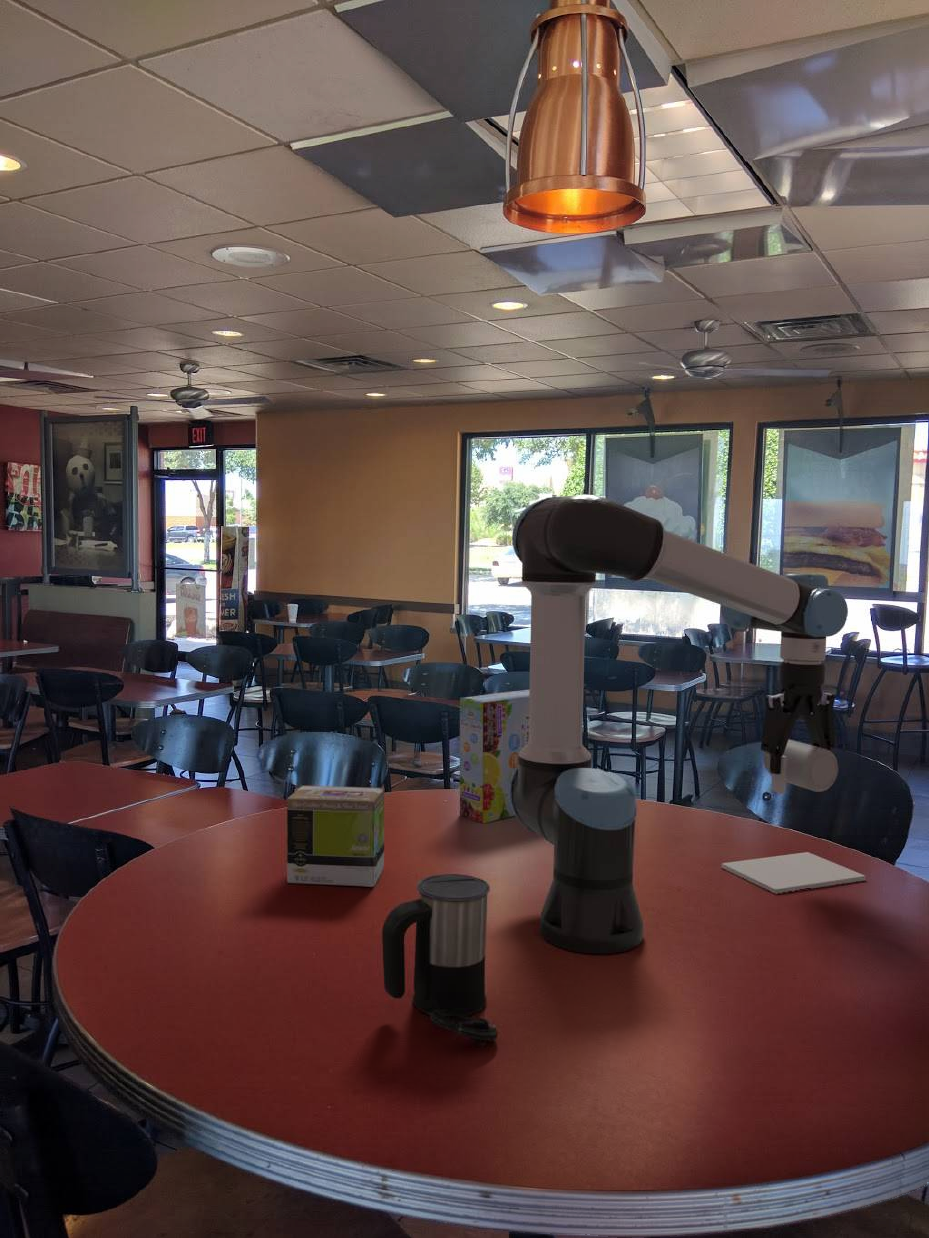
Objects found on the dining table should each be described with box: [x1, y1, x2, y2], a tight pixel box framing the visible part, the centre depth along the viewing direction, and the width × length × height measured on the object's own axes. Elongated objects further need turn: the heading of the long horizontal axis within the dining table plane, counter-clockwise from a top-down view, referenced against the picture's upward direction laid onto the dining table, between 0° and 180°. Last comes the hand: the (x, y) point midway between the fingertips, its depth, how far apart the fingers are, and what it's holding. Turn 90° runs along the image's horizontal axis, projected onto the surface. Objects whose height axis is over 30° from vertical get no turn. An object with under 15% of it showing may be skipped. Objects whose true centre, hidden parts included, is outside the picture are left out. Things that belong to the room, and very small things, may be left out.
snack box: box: [459, 689, 530, 824], centre depth 204 cm, size 22×9×26 cm, turn 130°
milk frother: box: [381, 873, 499, 1045], centre depth 113 cm, size 14×16×15 cm
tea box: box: [286, 785, 385, 888], centre depth 161 cm, size 15×10×15 cm
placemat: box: [721, 851, 866, 895], centre depth 169 cm, size 20×14×1 cm
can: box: [763, 739, 839, 793], centre depth 167 cm, size 8×8×12 cm
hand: (796, 789), depth 168 cm, fingers closed on can, 7 cm apart
